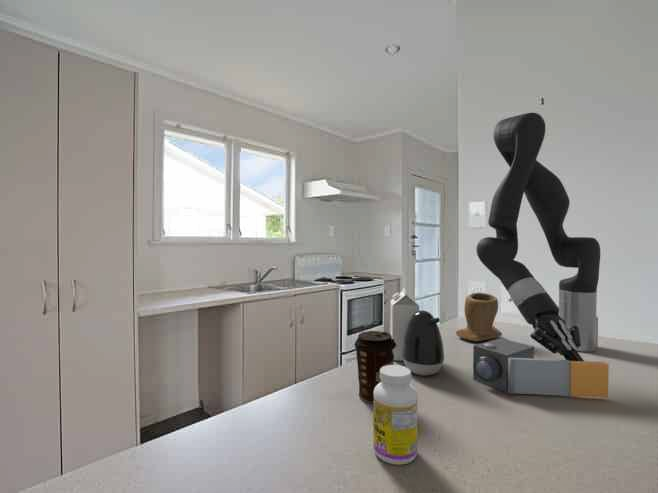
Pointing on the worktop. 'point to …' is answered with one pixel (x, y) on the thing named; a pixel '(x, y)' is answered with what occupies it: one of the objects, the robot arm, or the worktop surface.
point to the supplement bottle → (395, 416)
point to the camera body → (497, 361)
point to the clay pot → (480, 317)
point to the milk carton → (400, 319)
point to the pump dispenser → (423, 344)
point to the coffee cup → (372, 360)
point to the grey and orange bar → (557, 377)
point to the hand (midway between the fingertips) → (581, 369)
